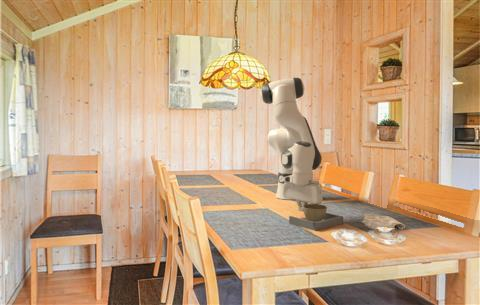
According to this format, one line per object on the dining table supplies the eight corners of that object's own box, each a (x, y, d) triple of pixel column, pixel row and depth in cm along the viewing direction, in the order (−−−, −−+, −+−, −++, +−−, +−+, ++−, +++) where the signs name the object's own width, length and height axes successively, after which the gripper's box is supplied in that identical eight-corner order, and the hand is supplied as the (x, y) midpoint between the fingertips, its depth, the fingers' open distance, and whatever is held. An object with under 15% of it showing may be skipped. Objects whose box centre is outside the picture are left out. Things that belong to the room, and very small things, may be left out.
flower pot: (297, 221, 165) (298, 204, 164) (317, 219, 169) (317, 203, 168) (310, 227, 156) (311, 209, 155) (331, 224, 160) (331, 207, 159)
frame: (317, 217, 173) (317, 210, 173) (343, 223, 162) (343, 216, 162) (289, 223, 162) (289, 216, 161) (315, 230, 151) (315, 223, 151)
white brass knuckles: (408, 233, 150) (372, 233, 149) (388, 221, 168) (355, 221, 167) (409, 224, 150) (372, 225, 149) (388, 213, 168) (355, 214, 167)
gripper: (326, 181, 160) (325, 214, 161) (290, 176, 176) (290, 206, 177) (316, 183, 156) (315, 216, 157) (280, 177, 172) (280, 207, 173)
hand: (301, 210), depth 167 cm, fingers closed
